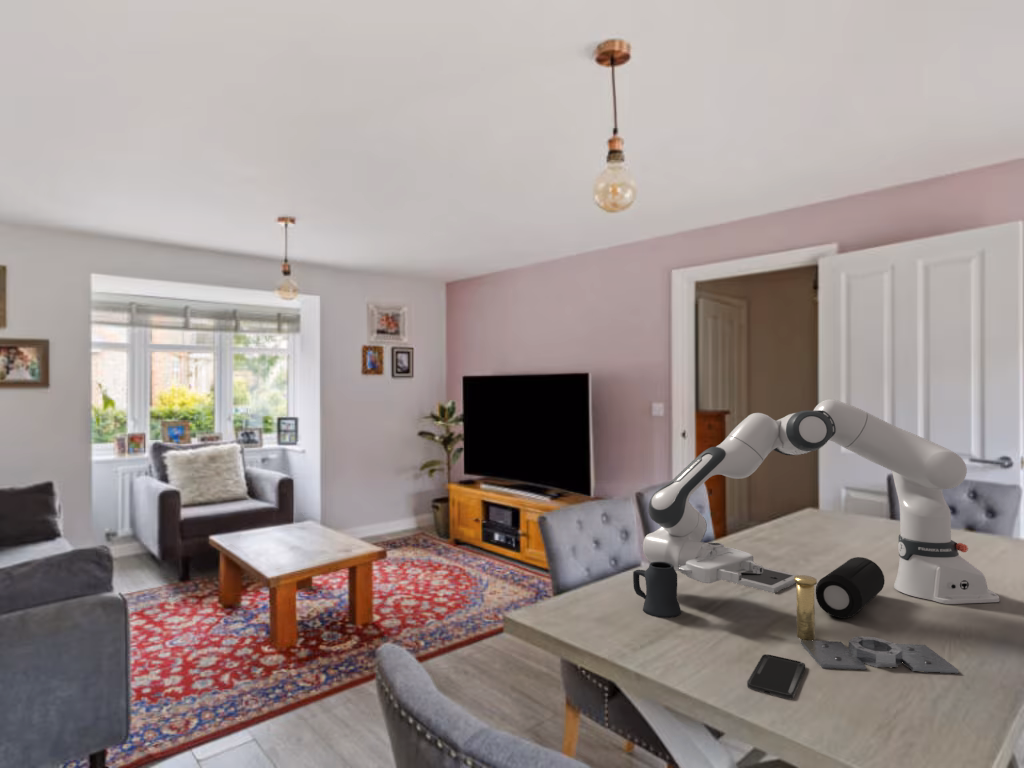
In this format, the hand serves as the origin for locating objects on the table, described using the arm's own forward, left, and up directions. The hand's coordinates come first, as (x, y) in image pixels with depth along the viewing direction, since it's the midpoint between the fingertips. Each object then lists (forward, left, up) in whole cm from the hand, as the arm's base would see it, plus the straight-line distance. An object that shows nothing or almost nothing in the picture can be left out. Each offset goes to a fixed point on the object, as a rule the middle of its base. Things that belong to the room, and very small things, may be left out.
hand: (750, 573), depth 140 cm
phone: (+3, +28, -11) cm, 30 cm away
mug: (+21, -5, -11) cm, 24 cm away
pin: (-9, +9, -11) cm, 17 cm away
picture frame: (-9, -32, -12) cm, 36 cm away
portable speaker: (-27, -12, -11) cm, 32 cm away
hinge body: (-19, +18, -11) cm, 28 cm away
